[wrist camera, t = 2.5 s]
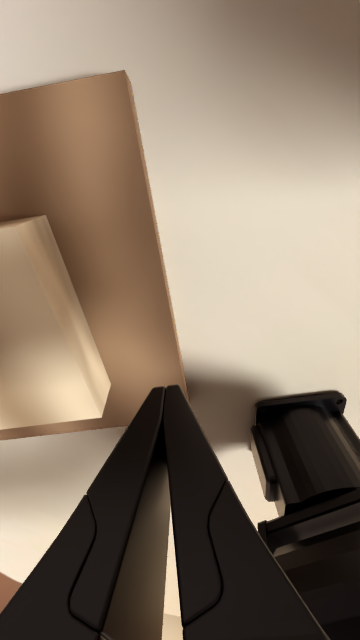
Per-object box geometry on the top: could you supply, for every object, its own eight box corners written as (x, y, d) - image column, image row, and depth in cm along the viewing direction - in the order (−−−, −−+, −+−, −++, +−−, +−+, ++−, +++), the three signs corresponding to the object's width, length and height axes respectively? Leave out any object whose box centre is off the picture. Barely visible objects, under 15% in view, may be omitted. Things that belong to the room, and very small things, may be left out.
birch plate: (45, 214, 11) (14, 226, 9) (111, 384, 16) (101, 417, 14) (-107, 240, 12) (-171, 257, 9) (4, 397, 17) (-22, 432, 14)
